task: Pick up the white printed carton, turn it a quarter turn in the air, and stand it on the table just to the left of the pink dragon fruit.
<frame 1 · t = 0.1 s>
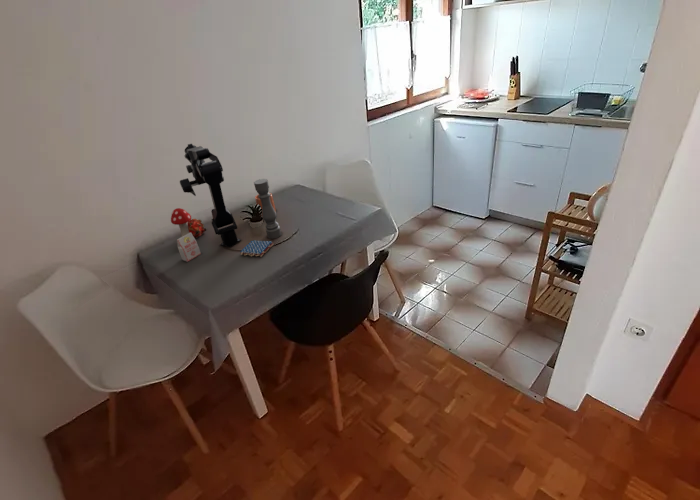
hand: (204, 192, 198), 15 cm above the table, tool tilted 35°, fingers open, 9 cm apart
dragon fruit: (198, 236, 192), on the table
white printed carton: (192, 257, 175), on the table
candle holder: (274, 235, 182), on the table
terracotta cup: (267, 212, 205), on the table
woven mat: (257, 250, 172), on the table
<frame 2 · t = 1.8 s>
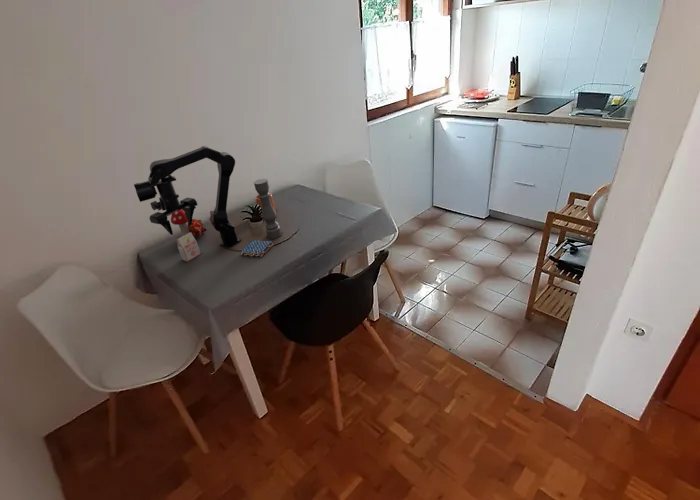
hand: (181, 229, 168), 13 cm above the table, tool pointing down, fingers open, 9 cm apart
nothing on the table moved.
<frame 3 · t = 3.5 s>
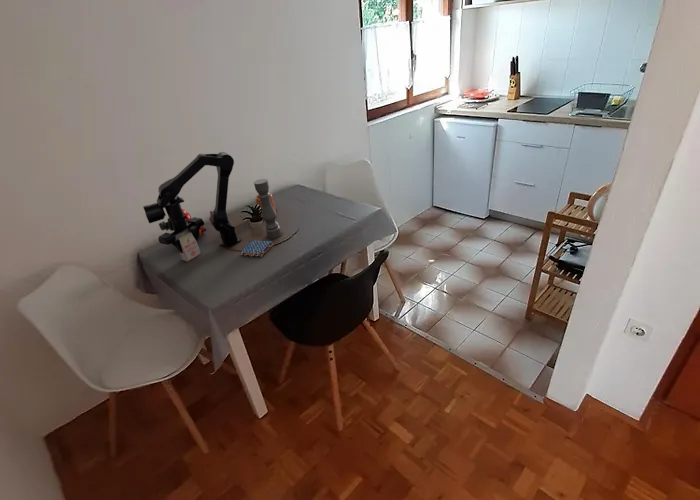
hand: (188, 248, 172), 4 cm above the table, tool pointing down, fingers closed on white printed carton, 7 cm apart
white printed carton: (192, 257, 175), on the table, touching gripper
everything else where it was.
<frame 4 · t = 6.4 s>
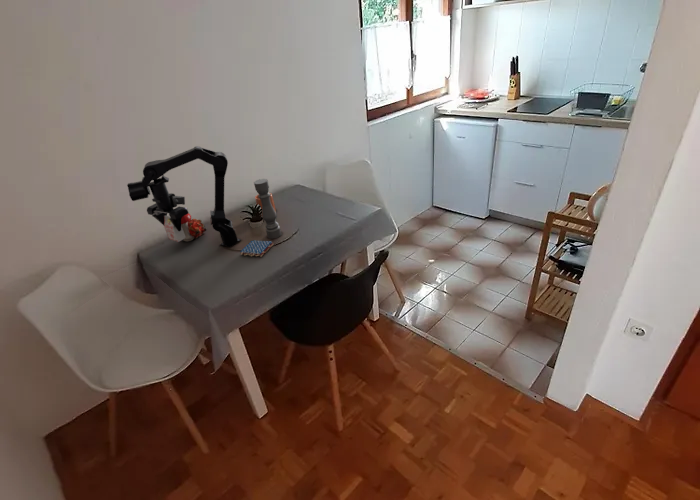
hand: (174, 229, 170), 12 cm above the table, tool pointing down, fingers closed on white printed carton, 7 cm apart
white printed carton: (177, 238, 172), point 8 cm above the table, touching gripper
everything else where it was.
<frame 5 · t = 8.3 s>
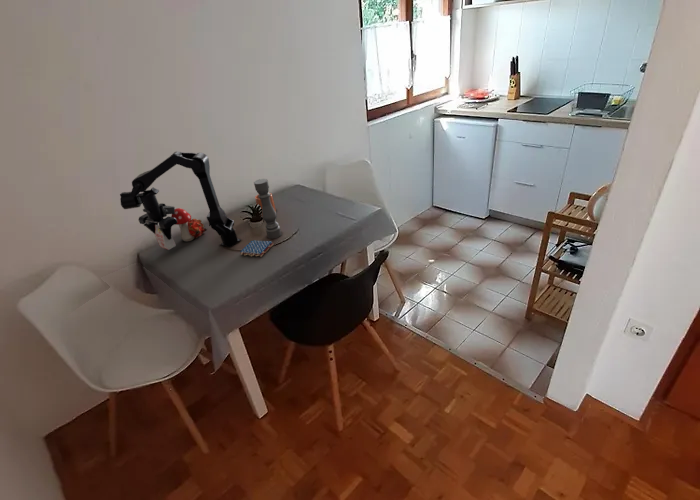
hand: (164, 238, 178), 7 cm above the table, tool pointing down, fingers closed on white printed carton, 7 cm apart
white printed carton: (168, 246, 180), point 3 cm above the table, touching gripper
everything else where it was.
when the fingers open (4 cm above the table, at t = 9.7 s): white printed carton stays where it is, on the table.
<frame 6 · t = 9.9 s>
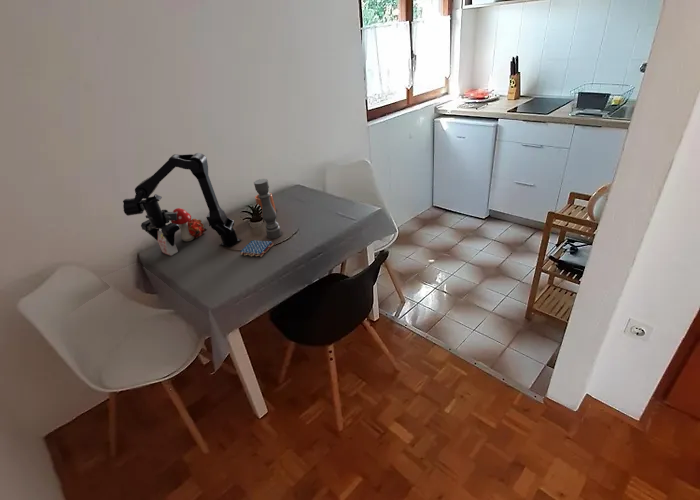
hand: (167, 244, 179), 4 cm above the table, tool pointing down, fingers open, 8 cm apart
white printed carton: (170, 252, 181), on the table
everything else where it was.
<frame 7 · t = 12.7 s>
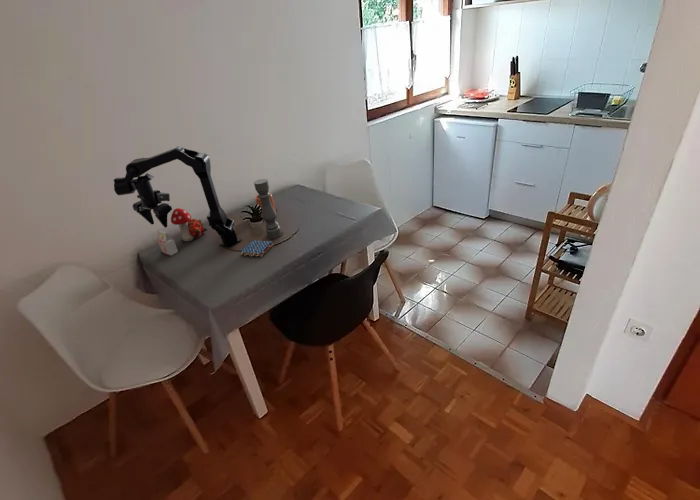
hand: (159, 225, 175), 13 cm above the table, tool pointing down, fingers open, 9 cm apart
nothing on the table moved.
at the end: white printed carton inside the target area on the table beside the dragon fruit (0.5 cm from its centre), on the table; white printed carton tilted 0°; dragon fruit moved 0.2 cm from its start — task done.
